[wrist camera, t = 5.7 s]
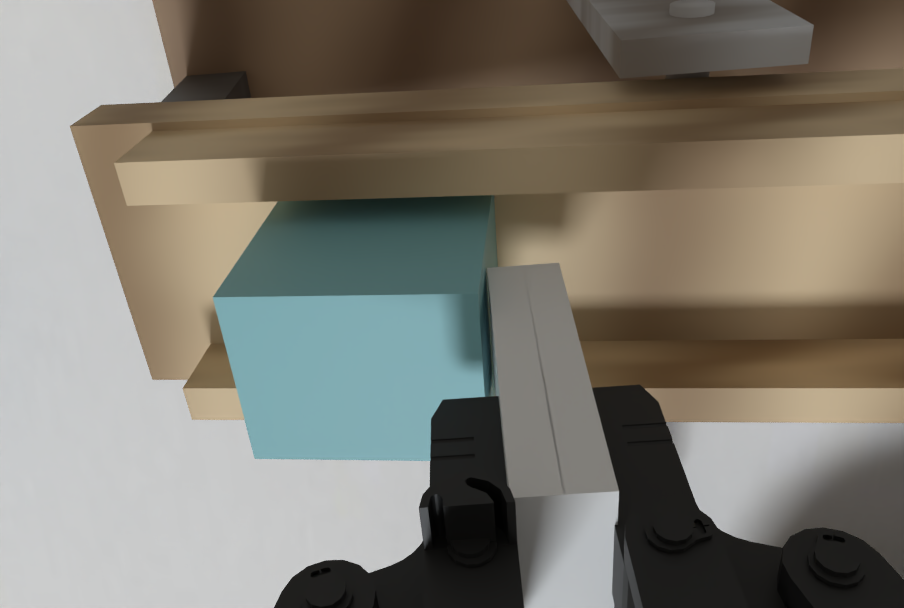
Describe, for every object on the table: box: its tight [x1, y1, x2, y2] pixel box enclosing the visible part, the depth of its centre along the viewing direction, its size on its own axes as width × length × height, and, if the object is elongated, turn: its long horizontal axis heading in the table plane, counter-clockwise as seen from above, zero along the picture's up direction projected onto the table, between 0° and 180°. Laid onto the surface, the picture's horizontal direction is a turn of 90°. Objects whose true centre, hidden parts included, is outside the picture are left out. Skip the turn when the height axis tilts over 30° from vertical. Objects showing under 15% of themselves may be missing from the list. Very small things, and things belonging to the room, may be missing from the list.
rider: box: [213, 195, 498, 461], centre depth 18 cm, size 5×4×5 cm
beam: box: [70, 68, 904, 423], centre depth 18 cm, size 29×7×7 cm, turn 94°
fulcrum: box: [152, 0, 904, 102], centre depth 24 cm, size 30×12×11 cm, turn 94°
